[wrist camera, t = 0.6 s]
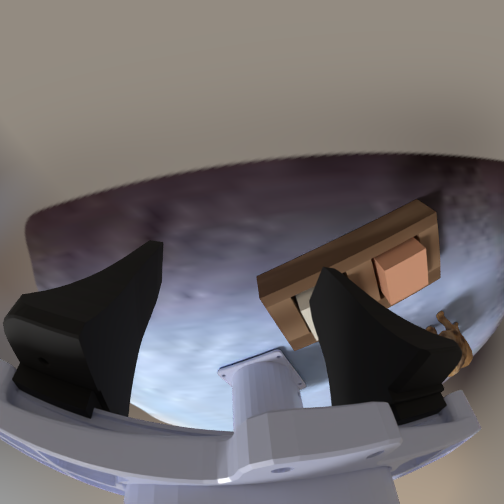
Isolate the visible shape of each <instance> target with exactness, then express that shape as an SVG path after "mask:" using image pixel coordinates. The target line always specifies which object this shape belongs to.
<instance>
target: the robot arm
mask: <svg viewBox="0 0 504 504" xmlns="http://www.w3.org/2000/svg"><path fill="white" fill-rule="evenodd" d="M162 261H163V242H157V241H151V240H150V241H148V242H147V243H145V244H144V245H142V246H141V247H139V248H138V249H136V250H135V251H133V252H132V253H130V254H129V255H127V256H126V257H124V258H123V259H121V260H119V261H118V262H116V263H114V264H113V265H111V266H109V267H108V268H106V269H104V270H102V271H100V272H98V273H96V274H94V275H92V276H89V277H87V278H84V279H82V280H79V281H76V282H74V283H71V284H68V285H65V286H61V287H58V288H54V289H50V290H46V291H40V292H34V293H29V294H22V295H21V297H20V298H19V299H18V301H17V302H16V303H15V305H14V306H13V307H12V309H11V310H10V311H9V313H8V314H7V315H6V317H5V318H4V322H3V326H4V332H5V334H6V337H7V339H8V341H9V343H10V345H11V347H12V349H13V351H14V353H15V354H16V356H17V358H18V359H19V361H20V364H19V366H18V368H17V370H16V368H15V367H13V366H12V365H11V364H10V363H8V362H6V361H4V360H2V359H0V439H1V440H3V441H4V442H6V443H7V444H9V445H10V446H12V447H14V448H15V449H17V450H19V451H20V452H22V453H24V454H26V455H27V456H29V457H31V458H33V459H35V460H37V461H38V462H40V463H42V464H44V465H46V466H48V467H50V468H52V469H54V470H56V471H58V472H61V473H63V474H65V475H67V476H70V477H72V478H74V479H77V480H79V481H82V482H84V483H87V484H89V485H92V486H95V487H98V488H100V489H103V490H106V491H109V492H113V493H116V494H119V495H123V496H124V504H400V502H399V499H398V495H397V492H396V488H395V485H394V482H393V480H394V479H397V478H399V477H402V476H404V475H406V474H408V473H411V472H413V471H415V470H417V469H419V468H422V467H424V466H426V465H428V464H430V463H432V462H434V461H436V460H438V459H439V458H442V457H444V456H445V455H447V454H448V453H450V452H451V451H453V450H454V449H456V448H457V447H459V446H460V445H461V444H463V443H464V442H465V441H467V440H468V439H469V438H471V437H472V436H473V435H475V434H476V433H477V432H478V431H480V429H481V426H480V424H479V422H478V420H477V418H476V416H475V414H474V412H473V410H472V408H471V406H470V404H469V402H468V400H467V399H466V397H465V395H464V393H463V391H462V390H459V391H456V392H453V393H450V394H448V395H446V396H445V397H443V396H442V394H441V392H442V391H443V390H444V387H443V385H442V382H443V381H444V380H445V379H446V378H447V377H448V376H449V375H450V374H451V372H452V371H453V370H454V369H455V368H456V366H457V365H458V363H459V362H460V360H461V357H462V350H461V348H460V347H459V345H458V344H457V343H456V342H455V341H454V340H452V339H449V338H446V337H443V336H440V335H437V334H434V333H432V332H429V331H427V330H425V329H422V328H420V327H418V326H416V325H414V324H412V323H410V322H409V321H407V320H405V319H403V318H401V317H400V316H398V315H396V314H395V313H393V312H392V311H390V310H389V309H387V308H386V307H384V306H383V305H381V304H380V303H379V302H377V301H376V300H375V299H373V298H372V297H371V296H370V295H368V294H367V293H366V292H365V291H363V290H362V289H361V288H360V287H358V286H357V285H356V284H355V283H354V282H352V281H351V280H350V279H349V278H347V277H346V276H345V275H344V274H342V273H341V272H340V271H338V270H336V269H335V268H329V267H322V270H321V272H320V275H319V277H318V280H317V282H316V285H315V287H314V290H313V292H312V295H311V297H310V300H309V304H310V311H311V317H312V321H313V324H314V327H315V330H316V333H317V337H318V340H319V343H320V346H321V349H322V352H323V355H324V359H325V362H326V367H327V373H328V378H329V385H330V393H331V403H332V406H329V407H315V408H303V404H302V399H301V394H300V389H303V388H305V387H306V384H305V382H304V381H303V380H302V378H301V377H300V376H299V374H298V373H297V372H296V370H295V369H294V368H293V366H292V365H291V364H290V362H289V361H288V360H287V358H286V357H285V355H284V354H283V353H282V351H281V350H279V349H276V350H273V351H271V352H268V353H265V354H263V355H260V356H257V357H254V358H251V359H249V360H246V361H243V362H240V363H237V364H234V365H231V366H228V367H225V368H222V369H219V370H218V371H217V374H218V375H219V376H220V377H221V378H222V379H223V380H225V381H226V382H227V383H228V384H229V385H230V386H231V387H232V401H233V430H234V432H230V431H215V430H204V429H194V428H186V427H179V426H172V425H166V424H160V423H154V422H149V421H144V420H139V419H135V418H130V417H128V414H129V404H130V397H131V390H132V384H133V378H134V373H135V367H136V362H137V358H138V353H139V349H140V345H141V342H142V338H143V336H144V333H145V330H146V328H147V325H148V322H149V320H150V317H151V314H152V312H153V309H154V307H155V304H156V301H157V298H158V294H159V291H160V286H161V283H162Z"/></svg>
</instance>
